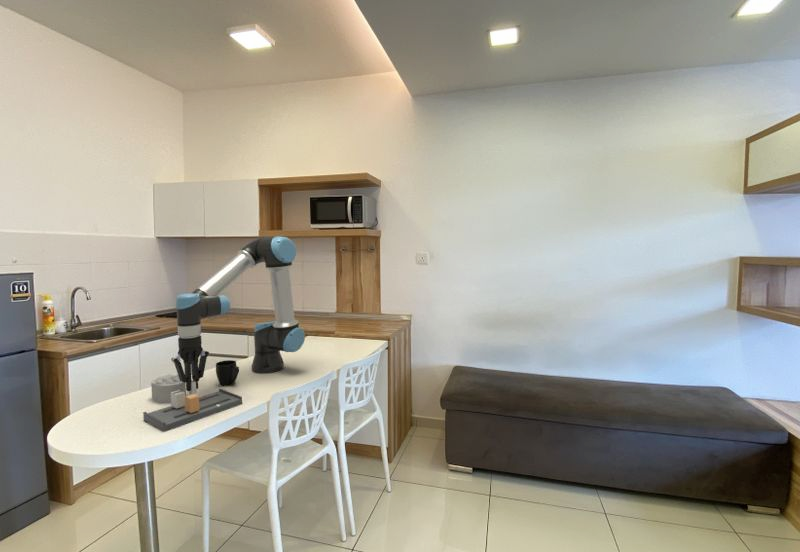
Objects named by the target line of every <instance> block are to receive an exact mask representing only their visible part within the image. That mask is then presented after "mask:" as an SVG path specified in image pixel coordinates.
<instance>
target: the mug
mask: <svg viewBox="0 0 800 552" xmlns="http://www.w3.org/2000/svg"><path fill="white" fill-rule="evenodd" d="M239 372H240V367H239V366H237V360H233V359H231V360H229V359H228V360H227V359H226V360H221V361H218V362H216V363H215V373H216V374H215V375H216V377H217V381H218V384H219V385H220V387H228V386H232V385H234V384H235V382H236V380H237V378H238V376H239Z"/></svg>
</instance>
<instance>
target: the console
mask: <svg viewBox="0 0 800 552" xmlns="http://www.w3.org/2000/svg"><path fill="white" fill-rule="evenodd" d="M242 404H243V397H242V396H240V395H238V394H235V393H234V392H231V391H228V390H225V389H223V388H218V391H214V392H211V393H208V394H206V395H201V396H199V411H196V412H193V413H190V412H188V411H185V406H183V407H180V408H174V407H172V406H171V405H170V406H167V407H163V408H161V409H157V410H154V411H151V412H146V411H143V412H142V413H143V415H142V416H143V421H144V422H145V423H148V424H150V425H152V426H153V427H155V428H156V429H159V430H161V431H162V432H163V433H164V432H167V431H170V430H173V429H175V428H178V427H181V426H183V425H187V424H191V423H192V422H195V421H198V420H200V419H203V418H207V417H208V416H212V415H214V414H218V413H220V412H223V411H225V410H229V409H231V408H234V407H237V406H241V405H242Z"/></svg>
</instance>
